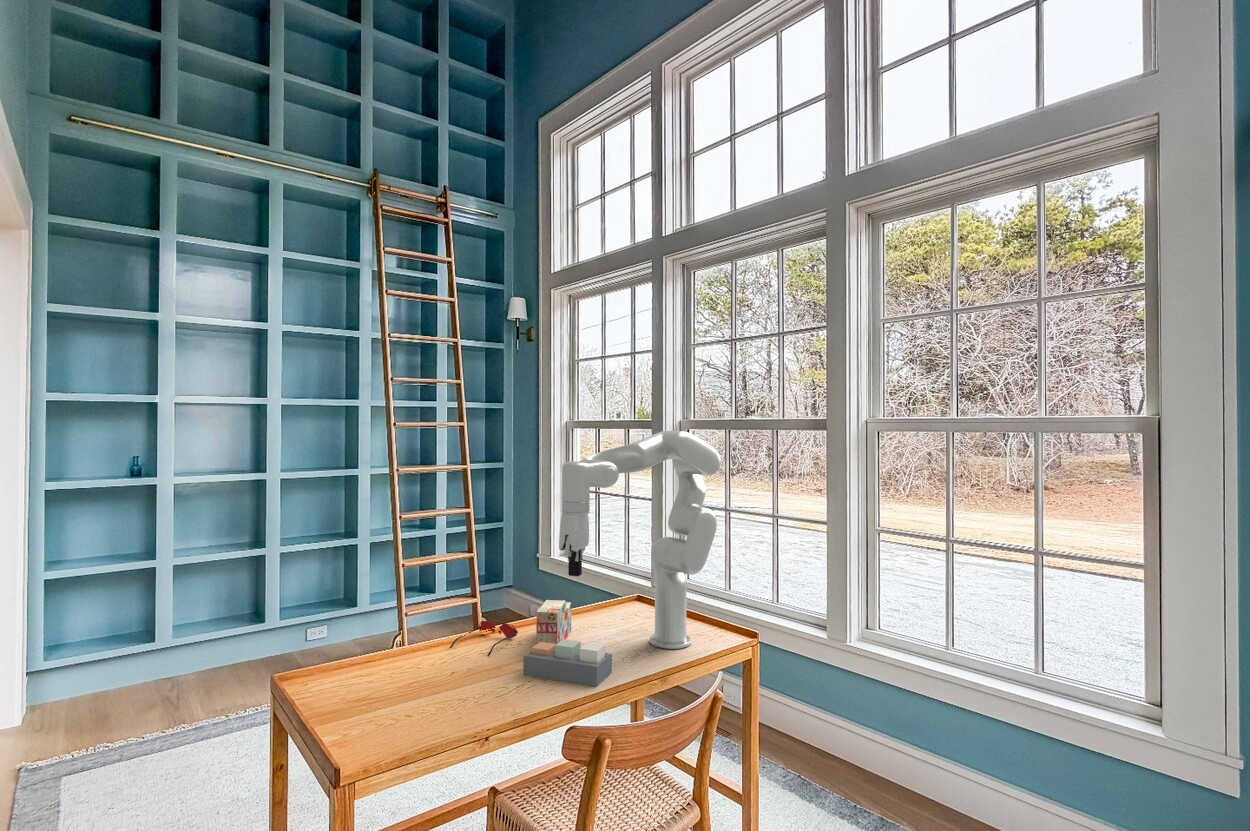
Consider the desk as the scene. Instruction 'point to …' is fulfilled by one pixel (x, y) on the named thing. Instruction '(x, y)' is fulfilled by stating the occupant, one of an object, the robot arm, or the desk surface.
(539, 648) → the terracotta button
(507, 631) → the glasses
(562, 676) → the frame
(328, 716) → the desk surface
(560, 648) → the sage button
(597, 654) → the cream button
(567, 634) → the stack of blocks
